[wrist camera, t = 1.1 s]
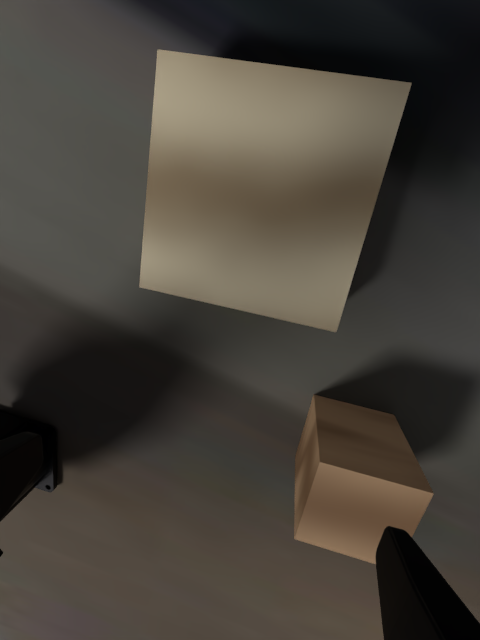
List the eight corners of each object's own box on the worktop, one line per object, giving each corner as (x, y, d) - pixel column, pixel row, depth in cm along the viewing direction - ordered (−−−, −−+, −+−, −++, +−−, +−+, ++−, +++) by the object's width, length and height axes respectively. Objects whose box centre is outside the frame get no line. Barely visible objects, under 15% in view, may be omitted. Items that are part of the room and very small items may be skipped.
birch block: (328, 310, 18) (336, 332, 14) (170, 275, 19) (139, 287, 16) (383, 118, 15) (411, 82, 11) (190, 90, 16) (157, 49, 12)
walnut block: (368, 476, 21) (395, 570, 15) (295, 455, 21) (294, 538, 16) (393, 414, 19) (433, 493, 13) (313, 394, 20) (319, 461, 14)
